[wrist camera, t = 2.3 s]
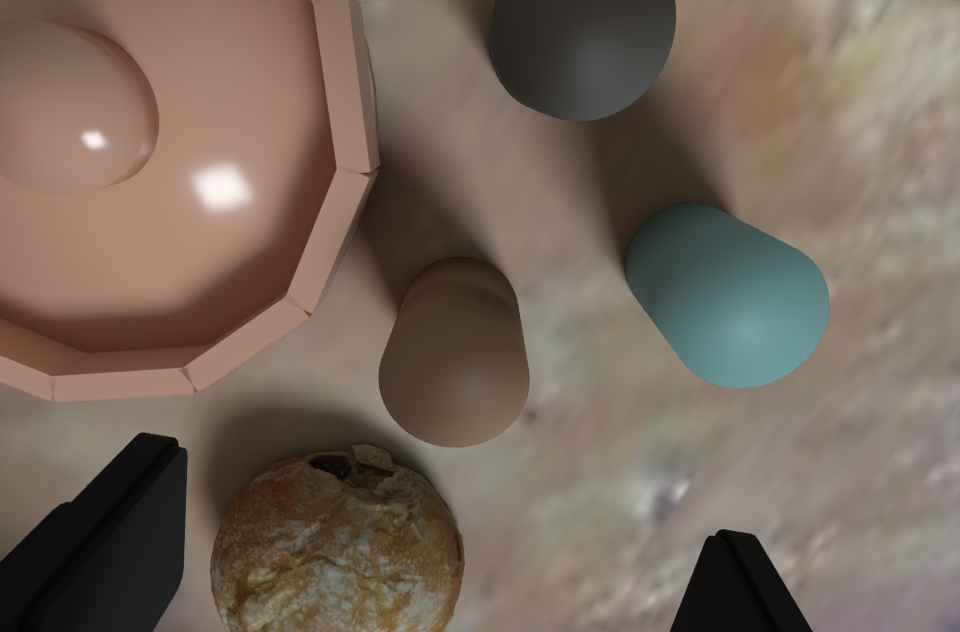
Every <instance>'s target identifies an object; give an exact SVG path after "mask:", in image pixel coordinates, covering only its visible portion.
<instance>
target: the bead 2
mask: <svg viewBox="0 0 960 632" xmlns="http://www.w3.org/2000/svg"><path fill="white" fill-rule="evenodd" d="M675 24H676V5H675V0H496V3H495V7H494V14H493V20H492V27H491V35H490V52H491V59H492V63H493V67H494V69H495V72H496V74H497V76H498V78H499V80H500V82H501V84H502V85H503V86H504V88H505V89H506V90H507V92H508V93H509V94H510V95H511V96H512V97H513V98H515V99H516V100H517V101H518V102H520V103H521V104H523V105H525V106H527V107H529V108H531V109H534V110H536V111H539V112H541V113H544V114H546V115H549V116H551V117H555V118H558V119H562V120H569V121H590V120H597V119H600V118H604V117H608V116H610V115H612V114H615V113H617V112H619V111H621V110H623V109H624V108H626V107H628V106H629V105H631V104H632V103H633V102H635V101H636V100H637V99H639V98H640V97H641V96H642V95H643V94H644V93H645V92H646V91H647V90H648V89H649V87H650V86H651V85H652V84H653V82H654V81H655V80H656V78H657V77H658V75H659V73H660V72H661V70H662V69H663V67H664V64H665V62H666V60H667V58H668V55H669V52H670V49H671V46H672V43H673V38H674V33H675Z"/></svg>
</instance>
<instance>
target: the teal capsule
mask: <svg viewBox="0 0 960 632" xmlns="http://www.w3.org/2000/svg"><path fill="white" fill-rule="evenodd" d="M625 270H626V278H627V282H628V285H629V287H630V289H631V291H632V293H633V295H634V296H635V298H636V299H637V300H638V302H639V303H640V304H641V306H642V307H643V308H644V310H645V311H646V313H647V314H648V315H649V317H650V318H651V319H652V321H653V322H654V323H655V325H656V326H657V328H658V329H659V330H660V332H661V333H662V334H663V336H664V337H665V338H666V340H667V341H668V343H669V344H670V345H671V347H672V348H673V349H674V351H675V352H676V353H677V355H678V356H679V357H680V359H681V360H682V362H683V363H684V364H685V366H686V367H687V368H688V369H689V370H690V371H691V372H693V373H694V374H695V375H697V376H698V377H699V378H701V379H703V380H705V381H707V382H709V383H712V384H714V385H718V386H722V387H727V388H751V387H757V386H761V385H765V384H768V383H770V382H773V381H775V380H777V379H780V378H782V377H784V376H785V375H787V374H788V373H790V372H792V371H793V370H794V369H795V368H797V367H798V366H799V365H800V364H801V363H803V362H804V361H805V360H806V359H807V358H808V356H809V355H810V354H811V353H812V351H813V350H814V349H815V347H816V346H817V344H818V343H819V341H820V339H821V337H822V335H823V333H824V330H825V327H826V324H827V321H828V316H829V305H830V302H829V292H828V288H827V284H826V282H825V279H824V277H823V275H822V273H821V272H820V270H819V268H818V267H817V266H816V264H815V263H814V262H813V261H812V260H811V259H810V258H809V257H808V256H806V255H805V254H804V253H802V252H801V251H799V250H797V249H796V248H794V247H792V246H790V245H788V244H786V243H784V242H782V241H780V240H778V239H776V238H774V237H772V236H770V235H768V234H766V233H764V232H762V231H760V230H758V229H756V228H754V227H753V226H751V225H749V224H747V223H745V222H743V221H741V220H739V219H737V218H735V217H733V216H731V215H729V214H727V213H725V212H723V211H721V210H719V209H717V208H715V207H712V206H710V205H706V204H701V203H682V204H677V205H673V206H670V207H668V208H665V209H663V210H661V211H659V212H657V213H656V214H654V215H653V216H652V217H650V218H649V219H648V220H647V221H646V222H645V223H644V224H643V225H642V226H641V227H640V228H639V229H638V231H637V232H636V234H635V235H634V237H633V239H632V241H631V243H630V245H629V248H628V251H627V256H626V263H625Z"/></svg>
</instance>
